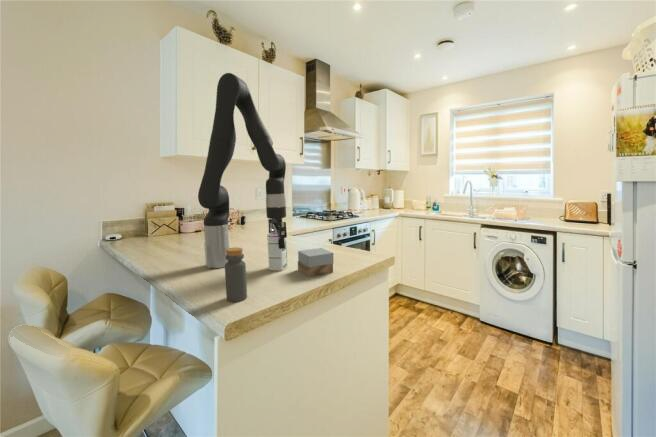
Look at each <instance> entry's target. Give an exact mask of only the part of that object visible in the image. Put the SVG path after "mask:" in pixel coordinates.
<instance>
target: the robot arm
mask: <svg viewBox="0 0 656 437" xmlns="http://www.w3.org/2000/svg"><path fill="white" fill-rule="evenodd" d="M216 86H217V88H216V99H215V111H214V116H213V123H212V130H211V135H210V137H209V138H210V139H209V146H208V152H207V156H206V162H205V168H204V172H203V176H202V179H201V182H200V186H199V189H198V194H197V196H198V197H197V199H198V203H199V205H200V207H202V208H204V209H208V213H207V215H206V216H205V217H204V219H203V230H204V231H203V233H204V235H203V236H204V243H203V244H204V259H205V260H204V261H205V267H206V268H207V269H221V268H222V269H223V268H225V264H226V263H227V262H228V260H226V255H227V253H226V249H229V248H230V239H229V224H228V223H229V217H230V196H229V192H228V190H227V188H225V187H224V186H223V185H221V182H222V177H223V174H224V172H225V171H226V169H227V168H228V166H229V164H230V162H231V160H232V159H233V156H234V153H235V146H236V141H237V134H236V128H235V119H234V118H235V116H234V115H235V114H234V113H235V108H237V109H238V111H239V112H240V114H241V116H242V118H243V122H244V126H245V129H246V132H247V135H248V137H249V139H250V140H251V142H252V144H253V146H254V148H255V150H256V154H257V157H258V160H259V163H260V165H261V167H263V168H264V170H265V171H267V172H268V178H267V179H266V181H265V207H266V208H265V211H266V212H265V213H266V218H267V221H268V222H267V223H268V234H270V233H272V232H275V233H276V234H277V236H278V245H279V249H283V248H285V243H284V239H285V238H286V239H287V237H288V234H287V223H286V221H283V219H286V217H287V203H286V195H285V178H286V167H287V166H286V161H285V158H284V156H282V154H279V153H276V151H275V150H274V147H273V144H274V142H273V139H272V137H271V136H270V134H269V132H268V129H267V128H266V126H265V125H264V122H263V120H262V118H261V117H260V115H259V113H258V109H257V108H256V105H255V103H254V100H253V98H252V94H251V91H250V89H249V86H248V84H247V83H246V82H245V81H244V80H243V79H242V78H240V77H239V76H237V75H235V74H233V73H231V72H226V73H224V74H222V75H221V77H220V78H219V79H218V82H217V85H216Z"/></svg>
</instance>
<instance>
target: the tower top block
mask: <svg viewBox="0 0 656 437" xmlns="http://www.w3.org/2000/svg"><path fill="white" fill-rule="evenodd" d="M297 255H298V258H297V259H298V260H297V262H298V261H299V262H301V263H303V264H305V265H306V266H308V267H314V266H320V265H326V264H332V263H333V264H334V252H332V251H330V250H328V249H324V248H323V247H317V248H311V249H310V248H309V249H302V250H297Z"/></svg>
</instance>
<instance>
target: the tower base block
mask: <svg viewBox="0 0 656 437" xmlns="http://www.w3.org/2000/svg"><path fill="white" fill-rule="evenodd" d="M297 271H299V272H301V273H302V274H304V275H306V276H307V278H308V277H309V278H312V277H317V276H322V275H326V274H332V273H334V262H333V263H332V264H326V265H320V266H314V267H308V266H306V265H305V264H303V263H301V262H299V261H298V260H297Z"/></svg>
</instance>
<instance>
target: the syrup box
mask: <svg viewBox="0 0 656 437" xmlns="http://www.w3.org/2000/svg"><path fill="white" fill-rule="evenodd" d="M266 236H267V255H268V269H269V271H278V272H279V271H284V269H286V268H287V267H288V252H287V251H288V250H287V248H288V247H287V238H285V239H284V243H285V248H283V249H279V245H278V236H277V234H276V233H275V232H272V233H267V234H266Z"/></svg>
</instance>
